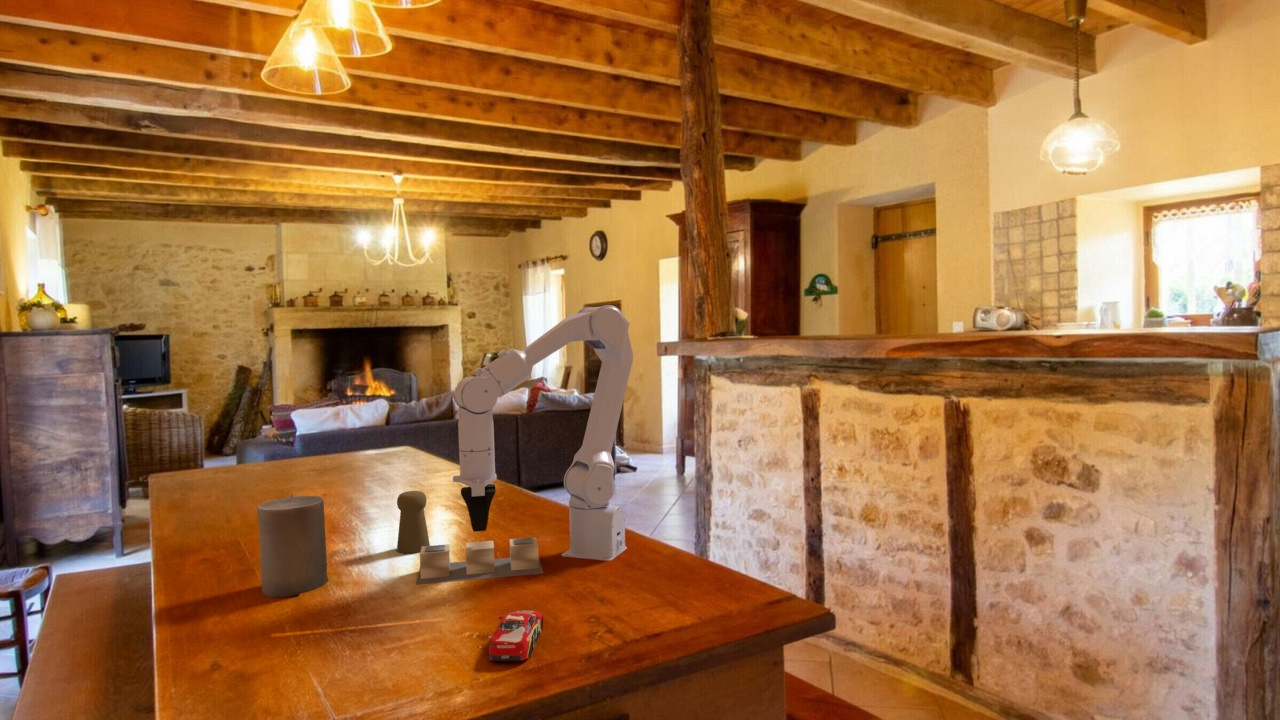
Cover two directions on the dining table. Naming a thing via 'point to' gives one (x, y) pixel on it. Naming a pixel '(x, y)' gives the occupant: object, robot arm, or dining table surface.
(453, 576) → the mat
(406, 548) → the brown game pawn
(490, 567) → the plain block
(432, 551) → the marked block 1
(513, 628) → the race car
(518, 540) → the marked block 2
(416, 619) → the dining table surface
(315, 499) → the pillar candle
